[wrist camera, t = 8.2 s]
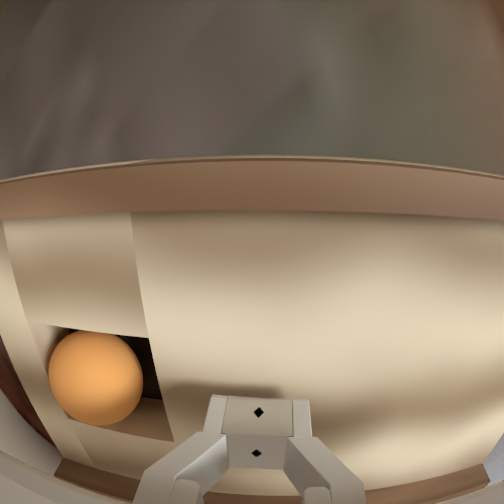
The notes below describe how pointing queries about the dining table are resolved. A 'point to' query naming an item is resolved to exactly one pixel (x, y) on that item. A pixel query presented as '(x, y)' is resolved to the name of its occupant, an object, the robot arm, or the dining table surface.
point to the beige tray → (270, 310)
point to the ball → (95, 377)
